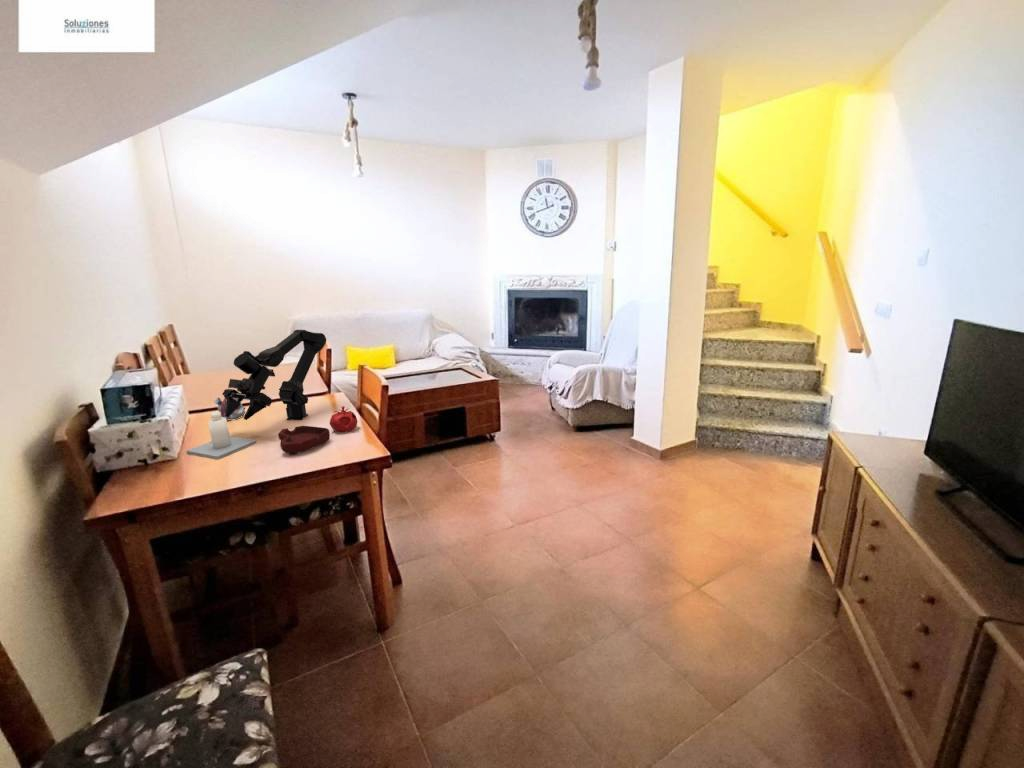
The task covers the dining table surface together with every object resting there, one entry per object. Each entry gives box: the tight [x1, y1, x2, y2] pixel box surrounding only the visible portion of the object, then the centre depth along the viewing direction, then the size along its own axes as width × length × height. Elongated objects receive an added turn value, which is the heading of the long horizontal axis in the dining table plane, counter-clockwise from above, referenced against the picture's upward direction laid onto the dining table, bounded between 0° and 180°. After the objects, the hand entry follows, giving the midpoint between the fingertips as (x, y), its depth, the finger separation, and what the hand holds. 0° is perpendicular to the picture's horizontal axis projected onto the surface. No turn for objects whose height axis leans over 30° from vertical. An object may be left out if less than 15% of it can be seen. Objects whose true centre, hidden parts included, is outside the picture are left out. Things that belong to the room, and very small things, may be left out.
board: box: [185, 435, 257, 460], centre depth 164 cm, size 15×15×1 cm
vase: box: [207, 411, 231, 448], centre depth 162 cm, size 5×5×12 cm
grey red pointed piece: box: [214, 397, 246, 420], centre depth 196 cm, size 11×11×12 cm
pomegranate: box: [329, 406, 358, 433], centre depth 179 cm, size 10×10×9 cm
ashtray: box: [277, 425, 331, 456], centre depth 165 cm, size 18×16×5 cm
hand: (235, 418), depth 168 cm, fingers open, 9 cm apart
